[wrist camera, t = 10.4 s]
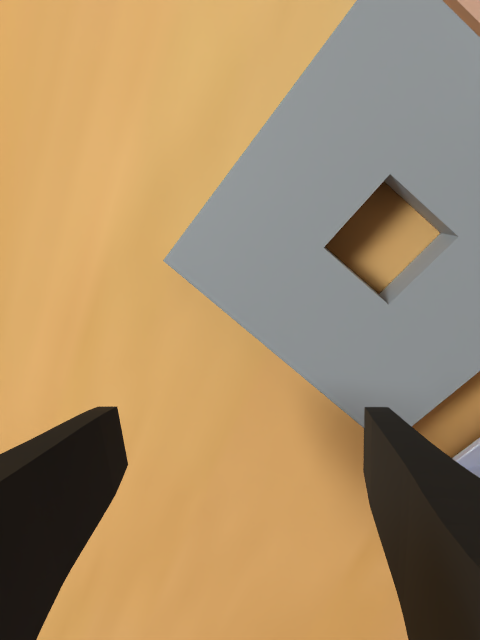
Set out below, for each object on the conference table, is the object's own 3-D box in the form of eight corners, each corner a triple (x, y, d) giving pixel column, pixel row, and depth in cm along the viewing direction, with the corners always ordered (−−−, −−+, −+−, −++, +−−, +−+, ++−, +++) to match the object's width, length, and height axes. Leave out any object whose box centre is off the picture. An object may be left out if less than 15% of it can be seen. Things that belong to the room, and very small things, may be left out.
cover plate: (622, 218, 16) (665, 220, 14) (378, 424, 21) (386, 446, 19) (380, -17, 15) (393, -49, 13) (176, 254, 19) (163, 260, 17)
